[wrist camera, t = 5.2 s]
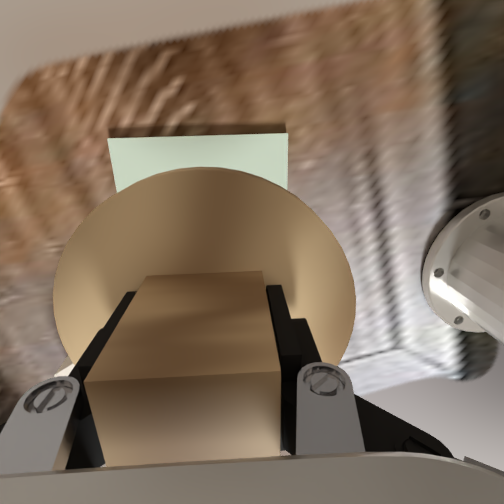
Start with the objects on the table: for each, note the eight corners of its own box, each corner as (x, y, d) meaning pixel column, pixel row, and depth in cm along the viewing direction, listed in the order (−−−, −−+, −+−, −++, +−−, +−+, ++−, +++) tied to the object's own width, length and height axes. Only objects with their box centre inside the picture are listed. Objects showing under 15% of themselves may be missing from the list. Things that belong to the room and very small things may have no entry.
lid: (359, 161, 11) (486, 195, 6) (337, 404, 15) (397, 568, 10) (32, 171, 11) (-190, 220, 5) (98, 419, 15) (14, 598, 9)
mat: (286, 133, 23) (288, 133, 22) (284, 286, 27) (285, 289, 26) (110, 138, 22) (107, 138, 21) (137, 295, 26) (136, 298, 26)
